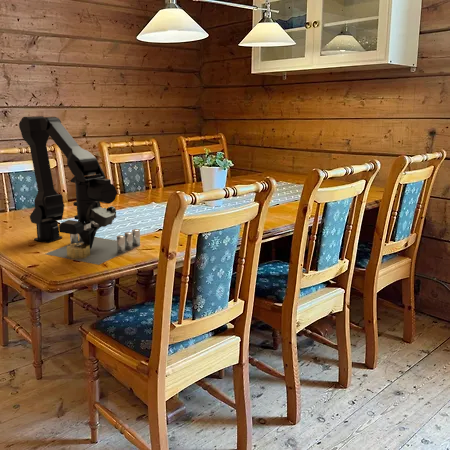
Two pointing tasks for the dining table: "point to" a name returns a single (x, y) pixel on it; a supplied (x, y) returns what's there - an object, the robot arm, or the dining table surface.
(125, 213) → the dining table surface
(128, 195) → the dining table surface
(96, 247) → the mat
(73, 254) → the tan lobed block
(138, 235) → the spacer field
